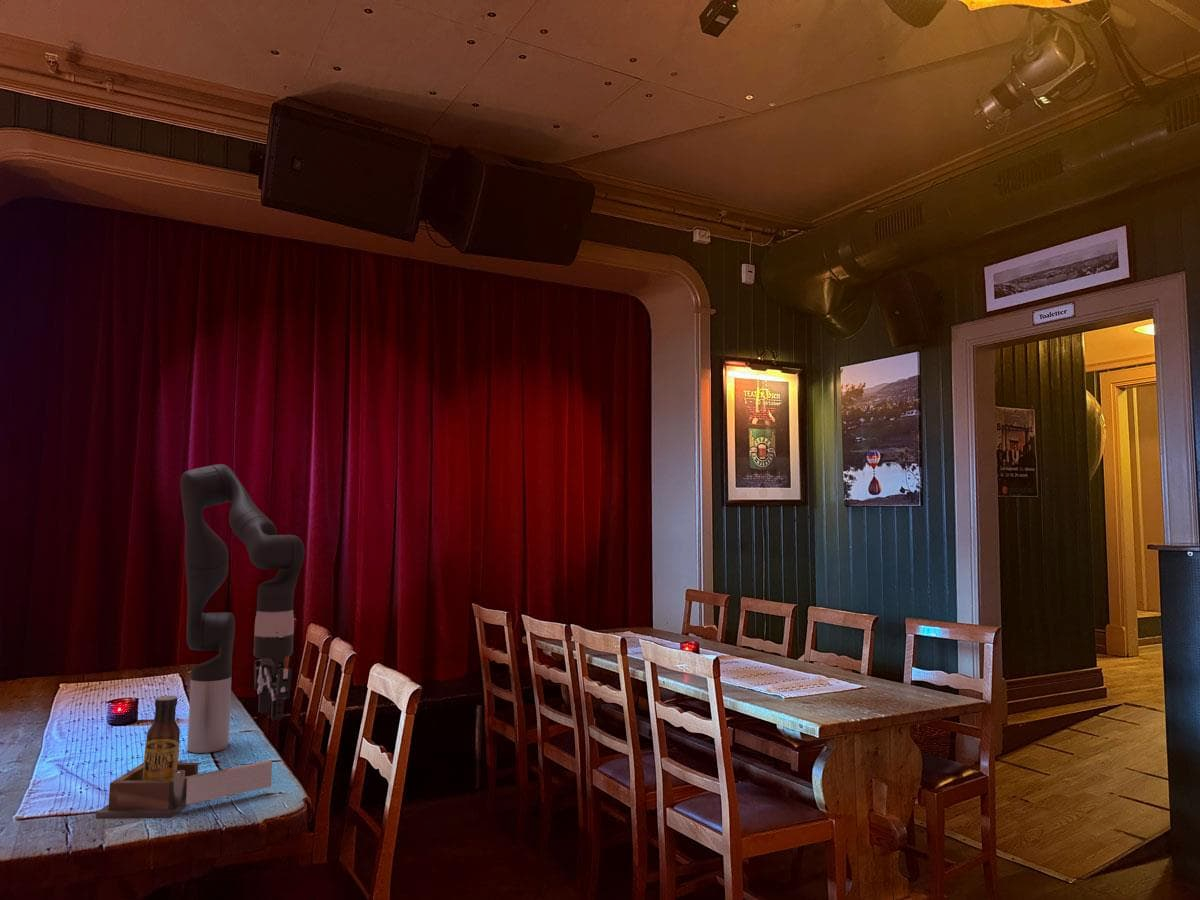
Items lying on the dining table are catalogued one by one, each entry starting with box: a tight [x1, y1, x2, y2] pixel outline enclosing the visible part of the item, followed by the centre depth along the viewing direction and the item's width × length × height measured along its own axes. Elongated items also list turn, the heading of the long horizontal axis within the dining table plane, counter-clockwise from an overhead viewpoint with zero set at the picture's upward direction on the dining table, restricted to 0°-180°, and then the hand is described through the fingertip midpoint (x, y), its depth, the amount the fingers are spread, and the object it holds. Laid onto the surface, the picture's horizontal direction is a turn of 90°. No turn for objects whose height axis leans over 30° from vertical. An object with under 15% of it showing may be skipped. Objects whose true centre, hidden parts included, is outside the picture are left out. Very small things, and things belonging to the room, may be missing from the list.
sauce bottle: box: [142, 695, 181, 793], centre depth 167 cm, size 6×6×20 cm
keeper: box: [172, 759, 273, 807], centre depth 167 cm, size 19×2×6 cm, turn 133°
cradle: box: [95, 762, 199, 819], centre depth 166 cm, size 16×14×6 cm
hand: (270, 715), depth 167 cm, fingers open, 6 cm apart
